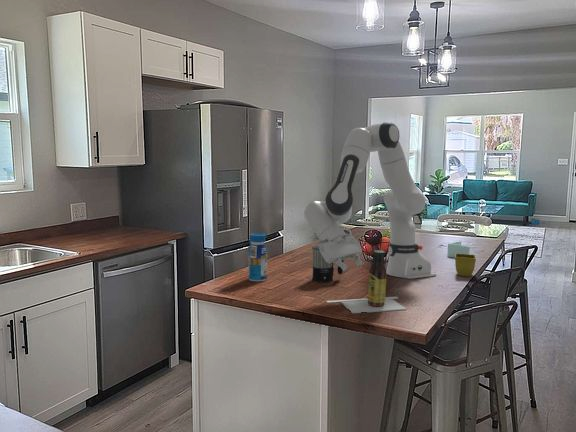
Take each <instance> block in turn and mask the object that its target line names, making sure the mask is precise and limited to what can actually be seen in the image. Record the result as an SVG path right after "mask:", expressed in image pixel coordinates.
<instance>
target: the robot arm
mask: <svg viewBox="0 0 576 432" xmlns="http://www.w3.org/2000/svg"><path fill="white" fill-rule="evenodd" d="M399 130H400V129H399V128H398V127H397V125H396V124H395V123H393V122H388V121H387V122H382V123H376V124H370V125H368V126H366V127H355V128H353V129H351V131H350V132H349V134H348V135H347V137H346V140H345V142H344V145H343V148H342V150H341V154H340V160H339V161H340V162H339V163H340V164H339V166H340V169H339V172H338V174H337V178H336V181H335V183H334V184H333V186H332V187H331V189H330V190H328V192H327V193H326V196H325V201H318V200H314V201H312V202H310V203H309V204H307V206H306V208H305V210H304V214H303V215H304V219H305V221H306V222H307V224H308V226H309V227H310V229H311V230H312V231H313V233H315V234H316V235H317V238H318V242H317V245H318V247H319V250H320V252H321V254H322V256H323V258H324V260H325V261H326V262H327V263H329V264H330V263H333V264H334V263H335V265H336V266H337V267H338V266H339V267H341V268H342V270H343V272H344V271H347V270H348V269H349V266H348V265H347V263H344V261H343V262H342V261H341V260H348V259H351V258H352V259H353V260H355V265H356V266H357V267H360V266H362V265H363V261H362V260H361V256H360V254H362V253H363V248H362V246H361V245H360V243H359V242H358V240H357V239H356V238H355V237H354V236H353V233H352V232H351V230H349V229H345V228H342V227H340V226H341V225H343V224H346V223H347V222H348V221H350V219H351V218H352V215H353V214H352V213H353V201H354V198H353V197H354V196H353V192H352V188H353V184H354V182H355V178H356V175H357V174H360V173H362V172H363V171H364V170H365V168H366V166H367V163H368V160H369V157H370V154H371V153H373V152H377V155H378V159H379V163H380V167H381V171H382V175H383V177H384V180H385V182H386V183H387V185H388V186H389V188H390V189H389V190H387V191H386V193H384V196H383V202H384V203H383V204H385V207H386V209H387V213H388V219H389V225H390V232H389V233H390V238H389V241H390V242H389V243H388V255H389V256H388V263H387V267H386V275H389V276H391V277H396V278H404V279H410V280H411V279H418V278H428V277H429V278H430V277H436V276H437V272H436V271H434V270H433V269H432V265H431V261H430V260H429V259H428V258H427V257H425V256H424V255H423V254H422V253H421V252H419V250H420V251H422V250H424V246H423V245H421V244H417V243H416V229H417V227H416V225H415V223H414V221H413V220H414V219H413V217H412V215H417V214H420V213H422V212H423V211H424V210H425V207H426V205H427V204H426V198H425V196H424V195H423V194H422V192H421V191H420V190H419V189H418V187H417V184H416V183H415V181H414V179H413V177H412V175H411V173H410V170H409V166H408V162H407V159H406V156H405V152H404V149H403V147H402V145H401V144H402V143H400V131H399Z"/></svg>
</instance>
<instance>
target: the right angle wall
mask: <svg viewBox="0 0 576 432" xmlns="http://www.w3.org/2000/svg"><path fill="white" fill-rule="evenodd" d="M470 248H471V247H470V245H463V244H462V240H458V241H454V242H448V243H447V257H448V258H449V257H450V258H454V259H455V254H470Z"/></svg>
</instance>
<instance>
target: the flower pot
mask: <svg viewBox="0 0 576 432" xmlns="http://www.w3.org/2000/svg"><path fill="white" fill-rule="evenodd" d="M454 259H455V260H454V263H455V264H454V265H455V271H456V274H457V275H458V276H459V277H460V276H461V277H471V276H472V274H473V272H474V271H475V268H476V267H475V266H476V262H477V261H476V260H477V256H476V254H471V253H469V254H455V258H454Z"/></svg>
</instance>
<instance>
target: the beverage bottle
mask: <svg viewBox="0 0 576 432" xmlns="http://www.w3.org/2000/svg"><path fill="white" fill-rule="evenodd" d="M249 242H250V244H249V246H248V248H247V251H248V254H247V259H248V277H247V279H248V280H249V281H250V282H264V281H266V280H268V275H267V274H268V253H267V251H268V248H267V246H266V244H265V243H266V233H261V232H256V233H255V232H253V233H250V234H249Z"/></svg>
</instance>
